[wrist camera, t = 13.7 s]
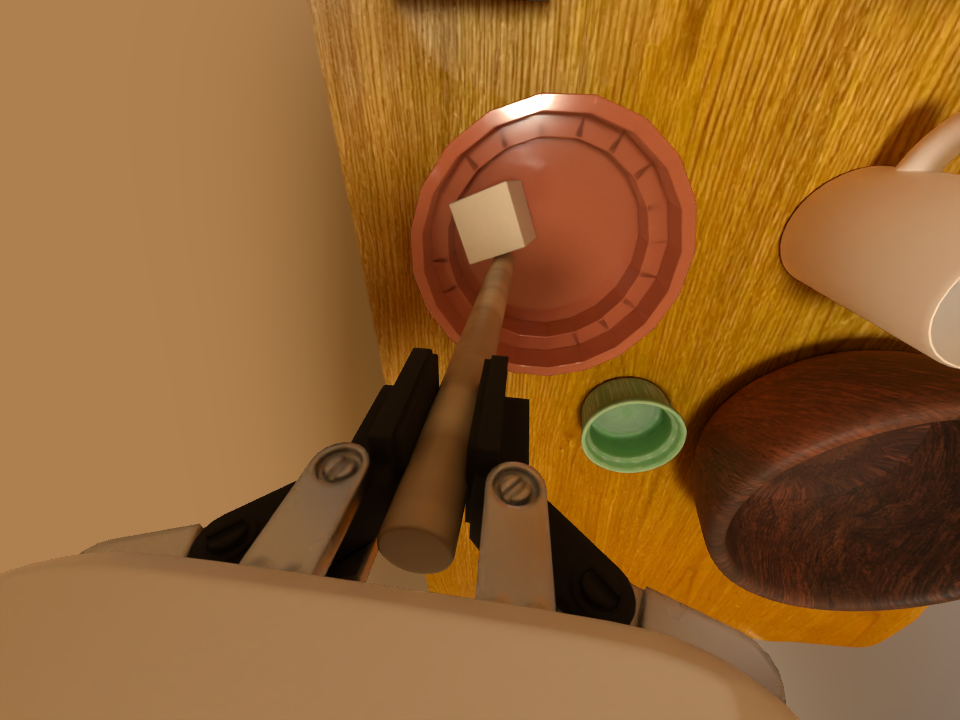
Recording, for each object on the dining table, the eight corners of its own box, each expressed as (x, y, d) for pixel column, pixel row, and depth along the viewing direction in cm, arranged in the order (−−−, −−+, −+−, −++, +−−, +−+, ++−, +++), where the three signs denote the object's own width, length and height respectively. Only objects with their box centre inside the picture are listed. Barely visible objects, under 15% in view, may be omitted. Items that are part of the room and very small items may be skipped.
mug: (1007, 94, 21) (1444, 66, 11) (870, 288, 27) (1065, 383, 17) (856, 84, 21) (1142, 49, 11) (758, 277, 28) (884, 363, 18)
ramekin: (564, 386, 36) (568, 416, 32) (661, 359, 33) (677, 389, 29) (590, 448, 40) (596, 481, 36) (678, 429, 37) (694, 462, 33)
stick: (494, 274, 27) (387, 574, 8) (491, 252, 26) (364, 525, 7) (515, 271, 26) (460, 577, 7) (513, 249, 26) (445, 526, 7)
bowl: (435, 328, 34) (418, 363, 29) (427, 94, 24) (400, 87, 19) (628, 345, 32) (646, 385, 27) (702, 105, 23) (751, 100, 18)
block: (469, 200, 27) (448, 204, 23) (520, 179, 25) (506, 180, 21) (487, 254, 28) (469, 265, 24) (536, 237, 26) (525, 247, 23)
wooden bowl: (815, 536, 43) (885, 637, 35) (623, 474, 41) (648, 565, 33) (1066, 380, 30) (1284, 485, 21) (797, 276, 28) (916, 345, 19)
